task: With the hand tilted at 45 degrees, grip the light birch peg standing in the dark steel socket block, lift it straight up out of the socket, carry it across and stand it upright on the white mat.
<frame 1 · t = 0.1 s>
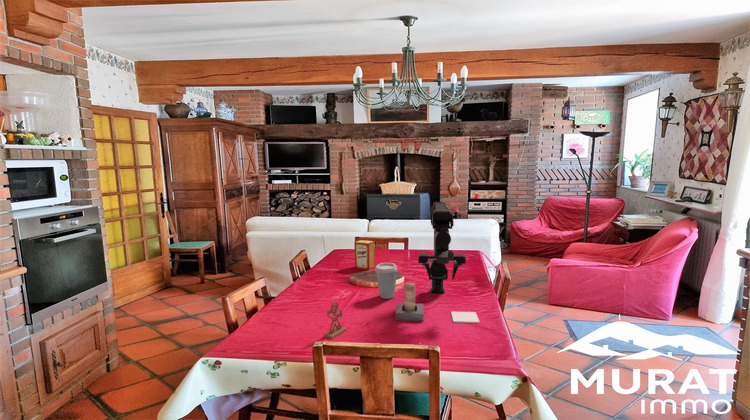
hand: (441, 279, 163), 15 cm above the table, tool pointing down, fingers open, 9 cm apart
gingerbread man figurine: (335, 334, 148), on the table
birch peg: (409, 300, 163), in the socket block
baking soda box: (364, 268, 236), on the table
disposable coffee cup: (386, 296, 187), on the table
socket block: (409, 315, 164), on the table
white mat: (464, 317, 161), on the table
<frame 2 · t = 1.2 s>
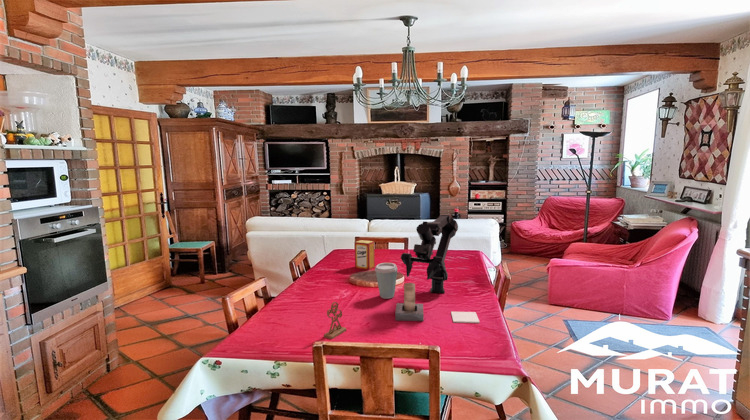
hand: (417, 277, 169), 14 cm above the table, tool tilted 45°, fingers open, 9 cm apart
nothing on the table moved.
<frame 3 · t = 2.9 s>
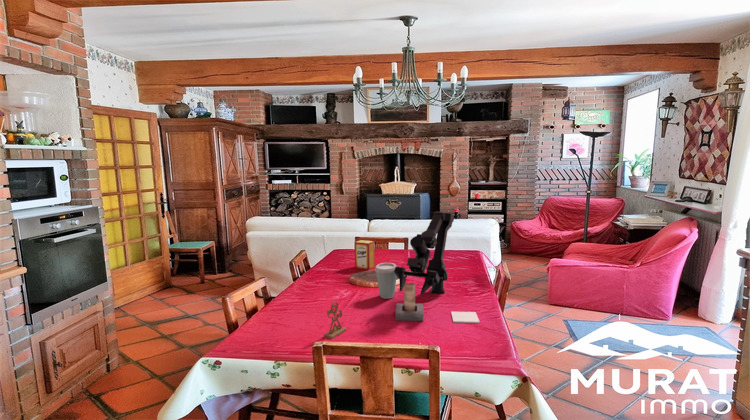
hand: (410, 292, 164), 9 cm above the table, tool tilted 45°, fingers open, 9 cm apart
nothing on the table moved.
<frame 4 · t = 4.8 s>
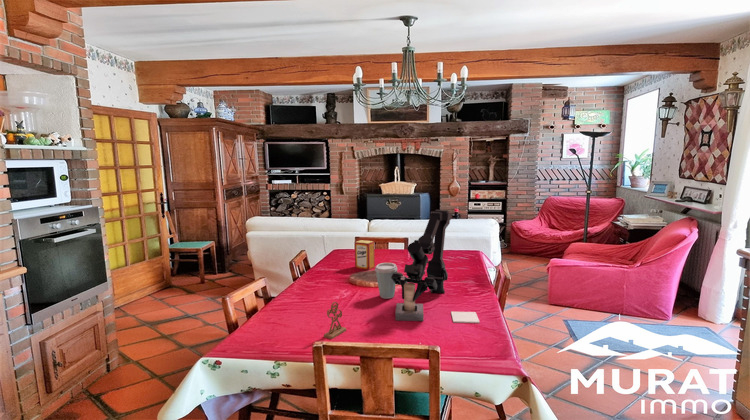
hand: (408, 299, 162), 7 cm above the table, tool tilted 45°, fingers closed on birch peg, 4 cm apart
birch peg: (409, 300, 163), in the socket block, touching gripper
everything else where it was.
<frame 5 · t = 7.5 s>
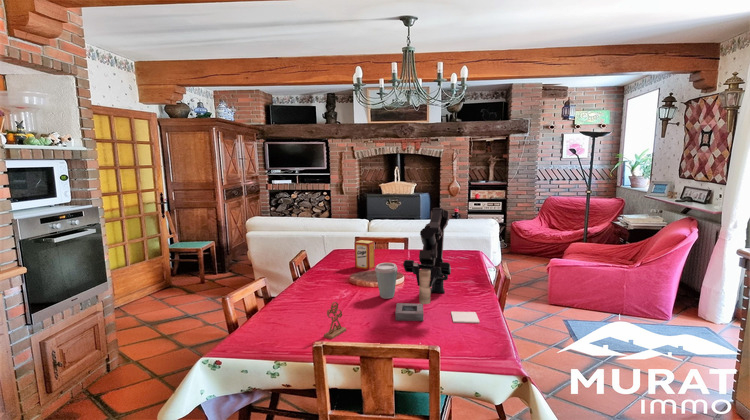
hand: (424, 286, 158), 13 cm above the table, tool tilted 45°, fingers closed on birch peg, 4 cm apart
birch peg: (424, 286, 160), point 13 cm above the table, touching gripper
everything else where it was.
when the fingers open (9 cm above the table, at t = 10.6 s): birch peg drops 1 cm, resting on white mat.
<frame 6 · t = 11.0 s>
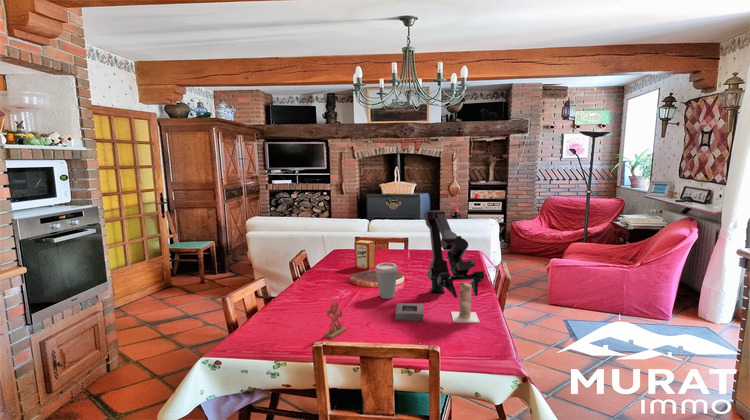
hand: (466, 297, 158), 9 cm above the table, tool tilted 45°, fingers open, 8 cm apart
birch peg: (465, 300, 160), on the white mat
everything else where it was.
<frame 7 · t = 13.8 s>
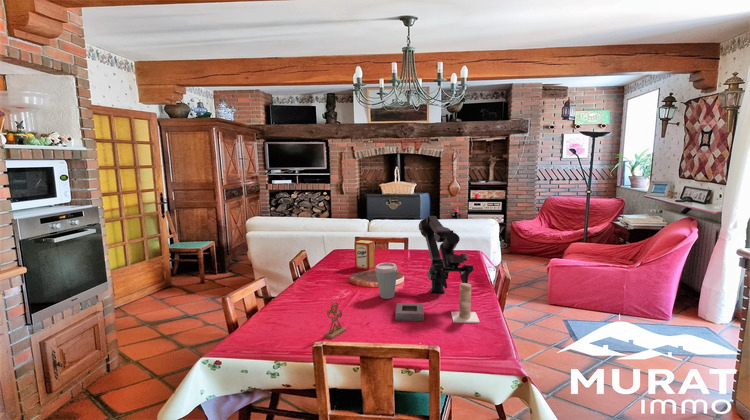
hand: (456, 288, 168), 9 cm above the table, tool tilted 40°, fingers open, 9 cm apart
nothing on the table moved.
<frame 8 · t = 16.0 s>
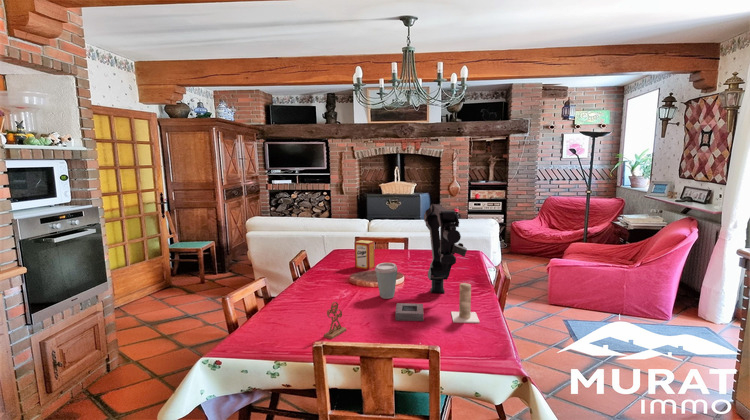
hand: (446, 273, 176), 13 cm above the table, tool pointing down, fingers open, 9 cm apart
nothing on the table moved.
at the end: birch peg inside the target area on the white mat (0.0 cm from its centre), point 7.0 cm above the white mat's base; birch peg tilted 1°; the gripper is holding nothing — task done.
